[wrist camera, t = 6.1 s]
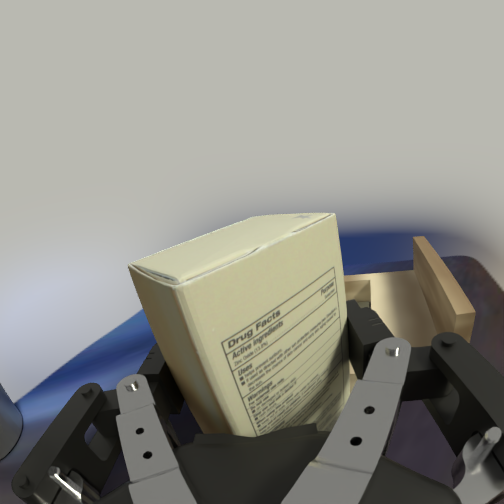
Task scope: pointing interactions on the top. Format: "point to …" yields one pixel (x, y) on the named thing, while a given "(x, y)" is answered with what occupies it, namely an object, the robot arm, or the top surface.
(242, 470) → the robot arm
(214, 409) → the skincare box
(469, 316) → the rack
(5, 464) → the top surface
